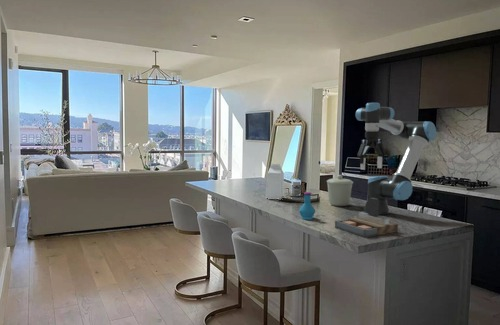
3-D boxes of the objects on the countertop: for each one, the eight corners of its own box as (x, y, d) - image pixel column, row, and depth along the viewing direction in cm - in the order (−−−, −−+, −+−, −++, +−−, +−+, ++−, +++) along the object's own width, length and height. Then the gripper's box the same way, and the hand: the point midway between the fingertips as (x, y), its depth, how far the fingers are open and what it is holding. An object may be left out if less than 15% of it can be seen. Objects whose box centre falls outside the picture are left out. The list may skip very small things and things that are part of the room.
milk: (265, 199, 281) (265, 164, 279) (269, 196, 292) (269, 163, 290) (281, 200, 277) (281, 164, 275) (284, 197, 288) (285, 163, 286)
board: (368, 223, 210) (368, 216, 210) (397, 231, 193) (398, 224, 192) (347, 226, 203) (347, 218, 203) (376, 235, 185) (376, 227, 185)
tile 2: (364, 230, 191) (364, 225, 191) (371, 232, 187) (371, 227, 187) (356, 231, 189) (356, 226, 189) (364, 233, 184) (364, 228, 184)
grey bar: (362, 217, 206) (363, 195, 205) (388, 224, 191) (389, 201, 190) (358, 217, 205) (359, 196, 204) (384, 225, 189) (385, 201, 188)
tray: (346, 226, 203) (346, 219, 203) (376, 235, 185) (377, 228, 185) (335, 227, 199) (335, 221, 199) (364, 237, 181) (365, 230, 181)
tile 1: (349, 225, 200) (349, 220, 200) (356, 227, 196) (356, 222, 196) (342, 226, 198) (342, 221, 198) (348, 228, 194) (349, 223, 193)
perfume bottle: (313, 216, 226) (314, 191, 224) (316, 219, 216) (317, 193, 215) (297, 216, 225) (298, 191, 224) (300, 219, 216) (301, 193, 215)
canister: (346, 208, 250) (347, 177, 248) (321, 205, 261) (322, 174, 259) (356, 204, 264) (357, 174, 263) (332, 201, 275) (333, 172, 274)
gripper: (361, 131, 201) (360, 170, 203) (392, 130, 214) (391, 168, 216) (350, 131, 208) (350, 169, 210) (382, 130, 221) (381, 166, 223)
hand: (371, 168), depth 213 cm, fingers open, 13 cm apart
